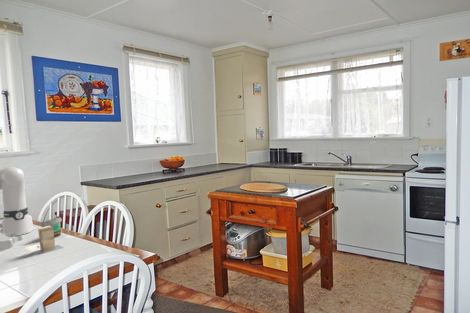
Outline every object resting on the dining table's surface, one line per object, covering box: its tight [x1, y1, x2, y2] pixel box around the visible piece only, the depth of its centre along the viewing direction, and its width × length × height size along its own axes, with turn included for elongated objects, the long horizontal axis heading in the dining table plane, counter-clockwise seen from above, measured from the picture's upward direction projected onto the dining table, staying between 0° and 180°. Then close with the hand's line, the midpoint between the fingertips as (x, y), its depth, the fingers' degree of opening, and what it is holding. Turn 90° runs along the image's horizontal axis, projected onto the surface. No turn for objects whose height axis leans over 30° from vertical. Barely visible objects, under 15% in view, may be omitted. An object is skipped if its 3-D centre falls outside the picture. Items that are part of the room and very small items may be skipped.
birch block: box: [37, 226, 56, 253], centre depth 165 cm, size 5×5×11 cm
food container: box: [40, 215, 63, 239], centre depth 187 cm, size 12×6×10 cm, turn 168°
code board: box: [24, 243, 65, 256], centre depth 169 cm, size 19×12×1 cm, turn 48°
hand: (18, 236), depth 156 cm, fingers open, 8 cm apart
